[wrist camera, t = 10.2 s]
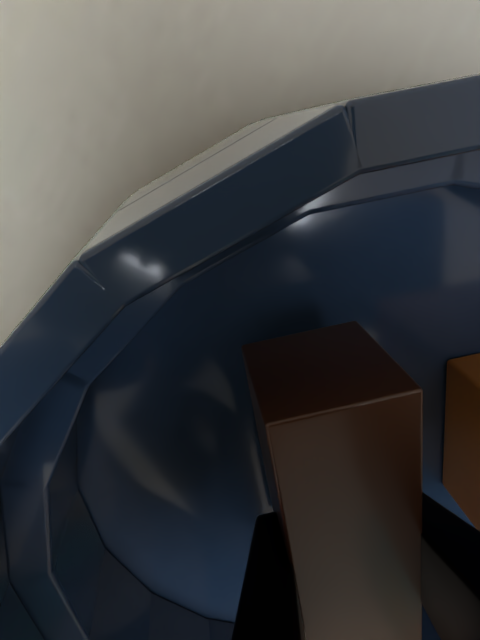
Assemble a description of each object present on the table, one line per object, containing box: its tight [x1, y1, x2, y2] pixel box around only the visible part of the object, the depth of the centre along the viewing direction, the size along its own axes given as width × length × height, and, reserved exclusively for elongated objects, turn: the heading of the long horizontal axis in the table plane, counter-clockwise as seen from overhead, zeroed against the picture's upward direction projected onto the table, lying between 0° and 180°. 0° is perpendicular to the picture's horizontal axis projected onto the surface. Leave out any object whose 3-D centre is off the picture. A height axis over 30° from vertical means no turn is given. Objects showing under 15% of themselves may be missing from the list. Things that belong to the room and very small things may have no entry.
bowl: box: [0, 74, 480, 640], centre depth 9 cm, size 16×16×5 cm
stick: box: [241, 321, 423, 640], centre depth 8 cm, size 7×2×2 cm, turn 10°
